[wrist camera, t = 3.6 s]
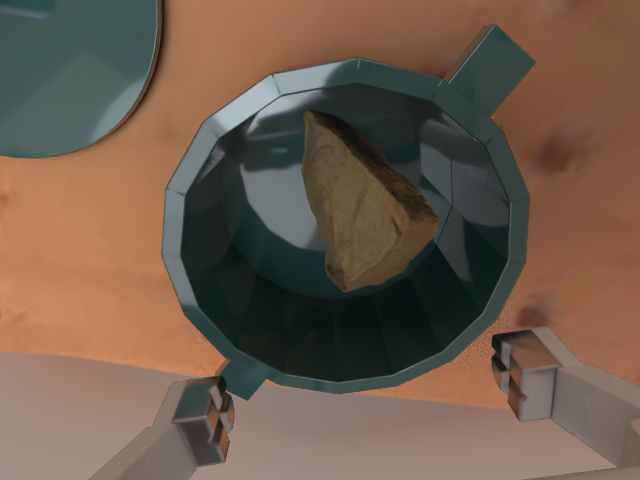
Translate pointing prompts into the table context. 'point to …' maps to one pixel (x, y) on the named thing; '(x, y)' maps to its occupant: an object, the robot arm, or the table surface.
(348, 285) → the rock
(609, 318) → the table surface
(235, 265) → the pot
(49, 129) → the lid
